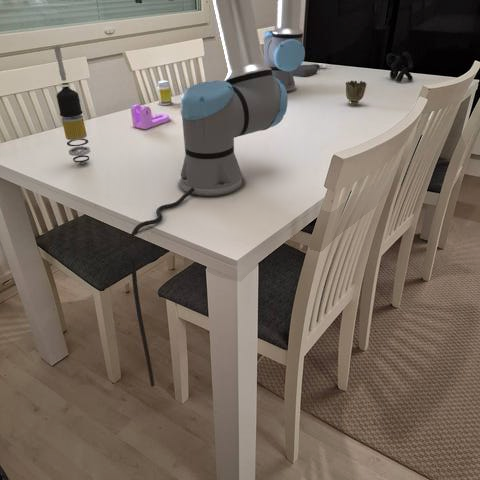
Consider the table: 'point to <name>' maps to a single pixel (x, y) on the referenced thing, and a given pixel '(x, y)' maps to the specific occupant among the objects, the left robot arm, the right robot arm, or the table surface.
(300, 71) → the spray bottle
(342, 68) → the table surface
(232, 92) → the left robot arm
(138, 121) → the bracket
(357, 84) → the cup
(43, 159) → the table surface
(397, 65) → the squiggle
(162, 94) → the supplement bottle
